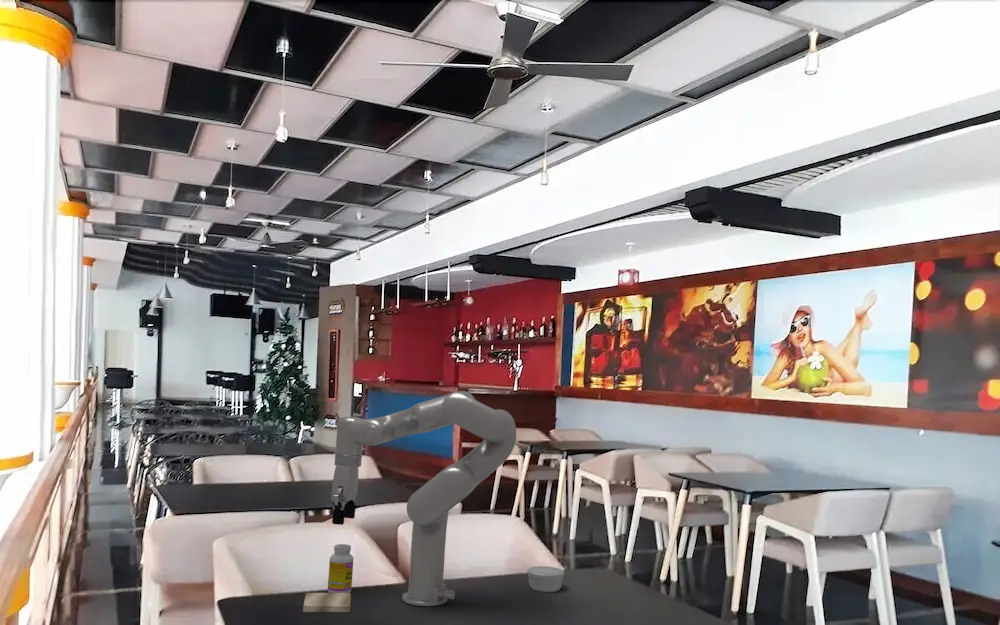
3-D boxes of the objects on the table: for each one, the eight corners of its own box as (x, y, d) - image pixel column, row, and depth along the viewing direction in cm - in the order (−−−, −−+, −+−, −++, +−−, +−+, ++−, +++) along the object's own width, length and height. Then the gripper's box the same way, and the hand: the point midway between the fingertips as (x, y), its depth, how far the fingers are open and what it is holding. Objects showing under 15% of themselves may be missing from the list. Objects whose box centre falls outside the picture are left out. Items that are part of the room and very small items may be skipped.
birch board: (350, 598, 219) (350, 593, 219) (350, 612, 208) (350, 606, 208) (305, 598, 217) (306, 592, 217) (302, 612, 205) (303, 606, 206)
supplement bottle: (345, 596, 221) (349, 549, 222) (323, 593, 222) (326, 547, 223) (354, 590, 228) (357, 544, 228) (333, 587, 229) (336, 542, 230)
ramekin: (524, 591, 237) (525, 573, 237) (528, 581, 248) (529, 564, 248) (561, 595, 235) (562, 576, 235) (564, 585, 246) (565, 568, 246)
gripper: (345, 456, 237) (340, 514, 235) (325, 462, 219) (320, 525, 218) (369, 458, 236) (365, 516, 234) (351, 464, 218) (346, 528, 217)
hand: (343, 521), depth 226 cm, fingers open, 9 cm apart
